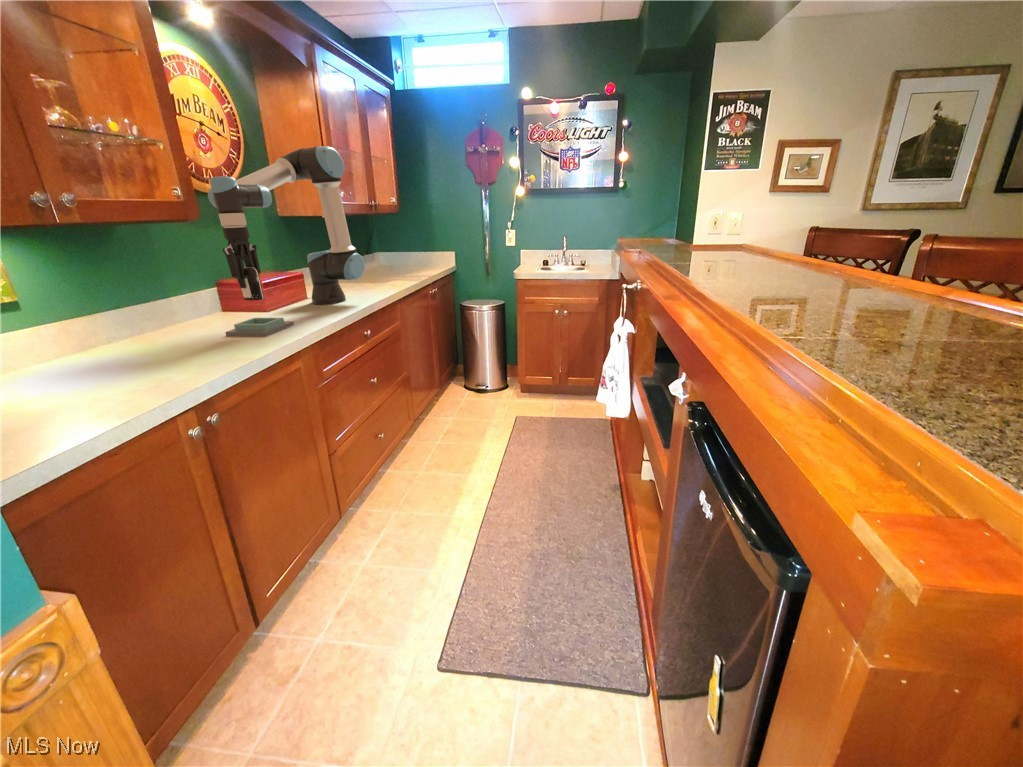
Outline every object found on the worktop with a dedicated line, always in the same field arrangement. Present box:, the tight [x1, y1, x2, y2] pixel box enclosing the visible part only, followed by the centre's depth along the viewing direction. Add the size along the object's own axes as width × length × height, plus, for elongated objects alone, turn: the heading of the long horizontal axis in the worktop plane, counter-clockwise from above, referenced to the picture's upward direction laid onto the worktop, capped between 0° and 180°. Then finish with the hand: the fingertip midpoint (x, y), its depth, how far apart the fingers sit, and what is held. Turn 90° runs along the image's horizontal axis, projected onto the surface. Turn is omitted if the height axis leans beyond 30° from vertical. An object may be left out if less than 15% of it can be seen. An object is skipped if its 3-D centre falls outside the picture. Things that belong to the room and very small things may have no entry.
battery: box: [236, 266, 265, 301], centre depth 155 cm, size 7×4×11 cm, turn 80°
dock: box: [224, 317, 295, 337], centre depth 161 cm, size 16×16×4 cm
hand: (252, 295), depth 157 cm, fingers closed on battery, 4 cm apart
